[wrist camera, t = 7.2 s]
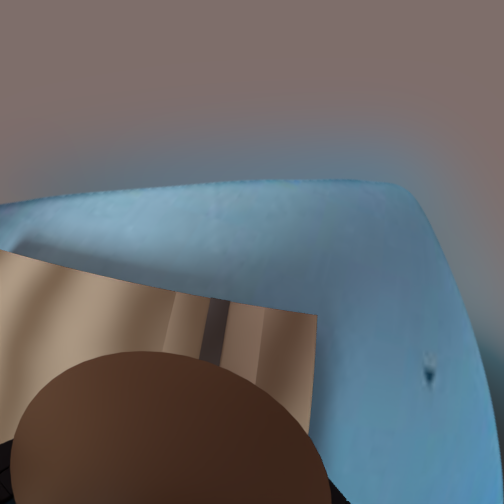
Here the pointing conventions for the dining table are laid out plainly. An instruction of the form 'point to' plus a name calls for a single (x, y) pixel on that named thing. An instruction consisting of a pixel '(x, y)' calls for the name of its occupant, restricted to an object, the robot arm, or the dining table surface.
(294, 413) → the board
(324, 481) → the brown wooden peg
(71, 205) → the dining table surface
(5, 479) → the robot arm
